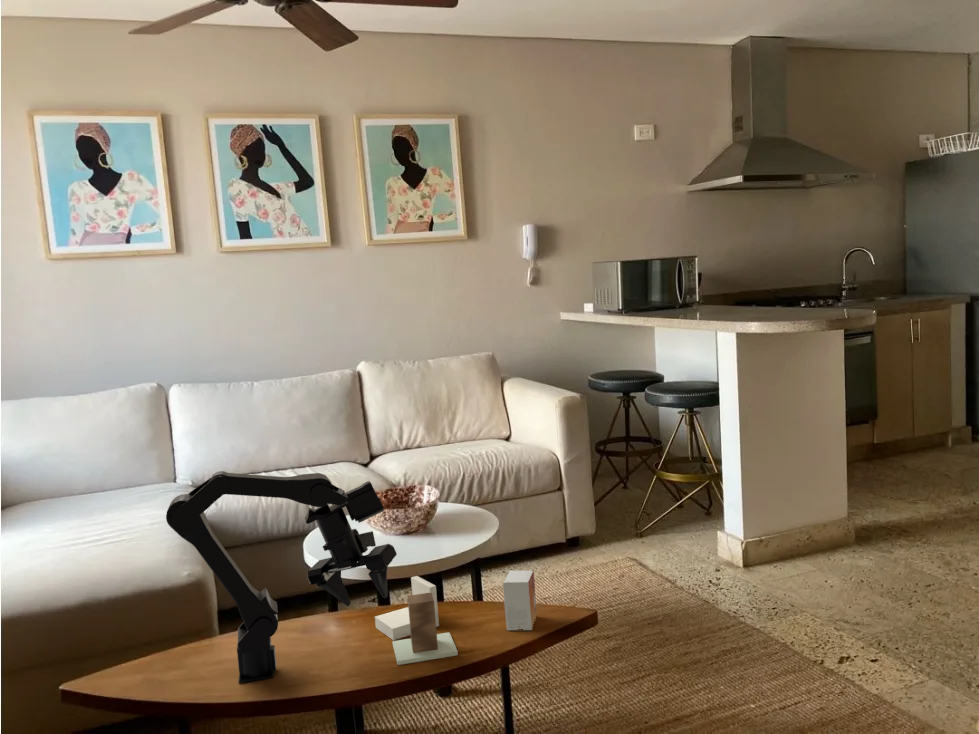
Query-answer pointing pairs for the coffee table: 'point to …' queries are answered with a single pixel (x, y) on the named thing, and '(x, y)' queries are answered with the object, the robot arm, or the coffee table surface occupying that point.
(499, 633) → the coffee table surface
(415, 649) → the walnut block
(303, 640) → the coffee table surface
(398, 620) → the ledge
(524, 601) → the small box
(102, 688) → the coffee table surface
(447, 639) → the pad
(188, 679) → the coffee table surface
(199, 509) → the robot arm
